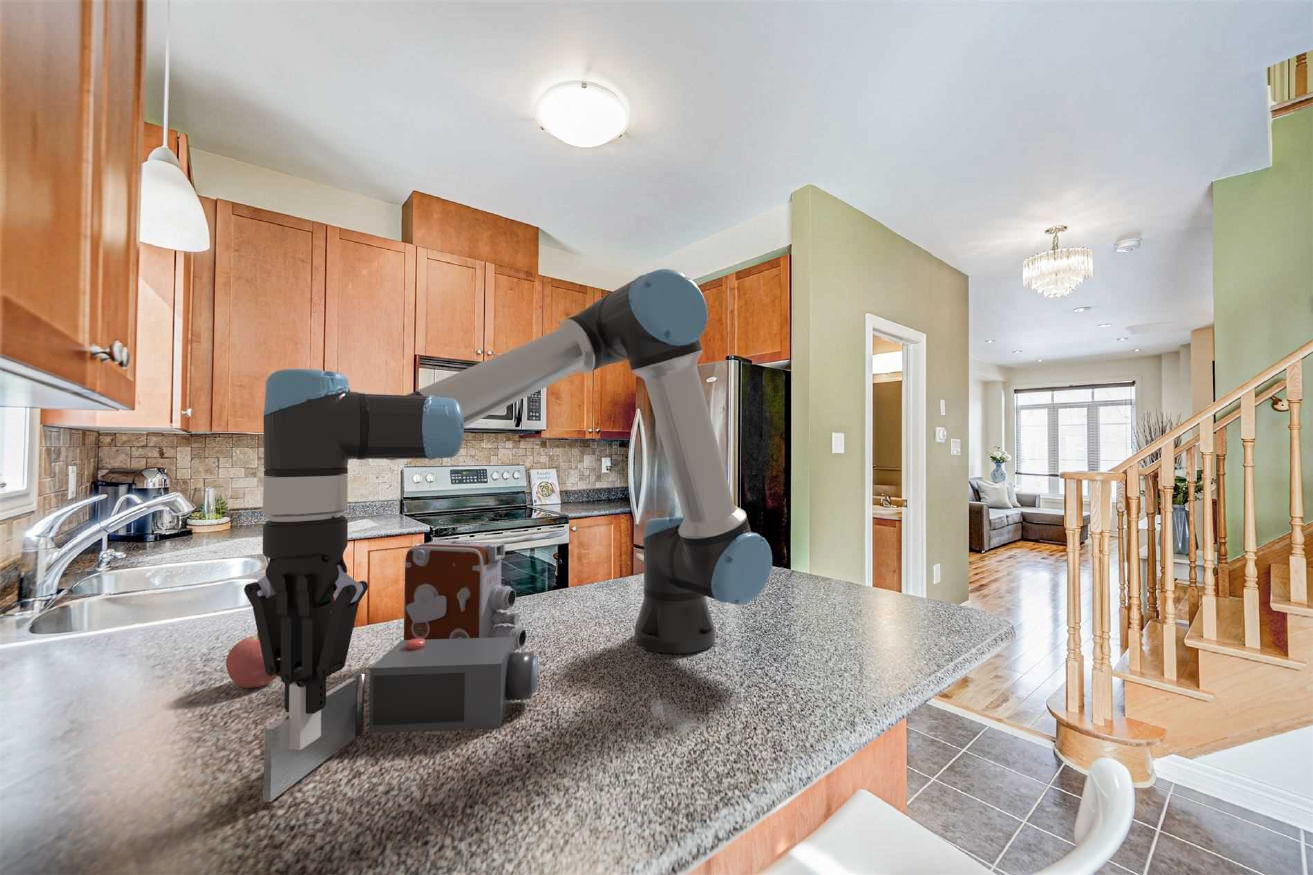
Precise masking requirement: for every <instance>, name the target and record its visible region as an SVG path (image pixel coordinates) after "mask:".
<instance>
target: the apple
mask: <svg viewBox="0 0 1313 875" xmlns="http://www.w3.org/2000/svg"><path fill="white" fill-rule="evenodd" d="M256 632H257V633H256V634H257V635H256V634H255V635H252V636H249V637H246V638H243V639H242V640H240V641H238V642H237V643H236V644H234V646H233V647H232V648H231V649H230V650H229V652H228V654H227V656H226V660H225V661H226V662H225V663H226V664H225V665H226V669H227V670H226V671H227V673H228V677H229V678H230V680H231V681H232V682H233V683H234V684H235V685H237V686H239V687H241V688H245V689H254V688H259V687H263V686H266V685H268V684H271V682H272V681H274V680H276V678H277V677H278V676H277V675H273V676H269V675H267V673H266V671H265V666H264V661H263V656H262V651H261V646H260V641H259V636H258V631H256ZM278 660H280V658H278Z"/></svg>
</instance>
